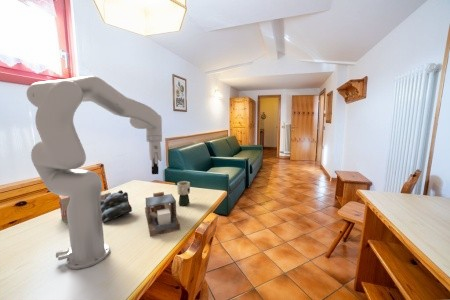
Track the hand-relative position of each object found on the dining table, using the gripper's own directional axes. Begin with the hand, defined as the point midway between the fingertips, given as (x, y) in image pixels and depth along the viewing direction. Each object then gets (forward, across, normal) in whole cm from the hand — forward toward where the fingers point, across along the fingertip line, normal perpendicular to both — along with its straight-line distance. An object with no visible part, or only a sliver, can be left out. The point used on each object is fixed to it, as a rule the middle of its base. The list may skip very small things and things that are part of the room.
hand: (155, 173), depth 102 cm
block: (+19, -20, -1) cm, 27 cm away
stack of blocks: (+22, +15, +32) cm, 42 cm away
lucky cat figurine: (+22, +4, +19) cm, 29 cm away
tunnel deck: (+21, -11, -1) cm, 24 cm away
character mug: (+21, +4, -16) cm, 26 cm away
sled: (+19, -15, -1) cm, 24 cm away
